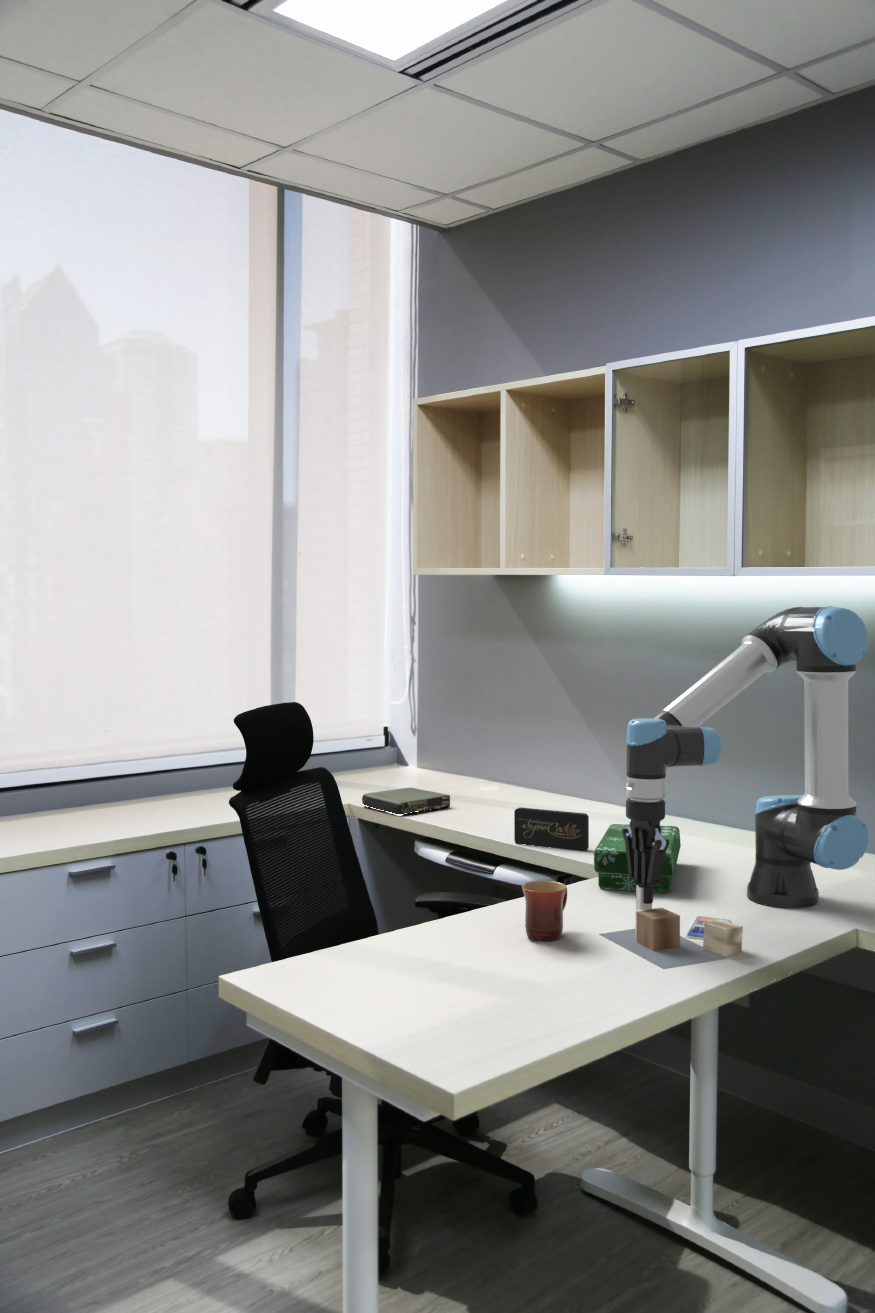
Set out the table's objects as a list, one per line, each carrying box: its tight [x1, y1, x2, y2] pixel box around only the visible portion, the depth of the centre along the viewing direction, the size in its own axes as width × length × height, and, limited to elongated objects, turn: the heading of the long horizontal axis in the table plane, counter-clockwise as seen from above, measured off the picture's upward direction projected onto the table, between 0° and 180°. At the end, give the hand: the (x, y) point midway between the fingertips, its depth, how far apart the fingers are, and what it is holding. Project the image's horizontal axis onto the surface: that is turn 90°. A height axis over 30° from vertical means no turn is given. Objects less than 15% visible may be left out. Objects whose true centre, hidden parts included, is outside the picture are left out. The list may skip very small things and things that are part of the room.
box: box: [593, 823, 682, 894], centre depth 254 cm, size 32×18×10 cm, turn 164°
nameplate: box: [513, 807, 590, 852], centre depth 285 cm, size 21×2×10 cm, turn 61°
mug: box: [521, 880, 568, 942], centre depth 208 cm, size 12×9×10 cm
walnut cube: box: [635, 907, 681, 951], centre depth 201 cm, size 6×6×6 cm
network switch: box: [361, 787, 451, 814], centre depth 343 cm, size 23×24×5 cm
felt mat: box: [598, 928, 728, 970], centre depth 200 cm, size 14×22×1 cm, turn 23°
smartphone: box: [684, 915, 732, 941], centre depth 211 cm, size 7×1×15 cm
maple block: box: [702, 920, 744, 957], centre depth 197 cm, size 5×5×5 cm
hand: (643, 918), depth 205 cm, fingers closed
